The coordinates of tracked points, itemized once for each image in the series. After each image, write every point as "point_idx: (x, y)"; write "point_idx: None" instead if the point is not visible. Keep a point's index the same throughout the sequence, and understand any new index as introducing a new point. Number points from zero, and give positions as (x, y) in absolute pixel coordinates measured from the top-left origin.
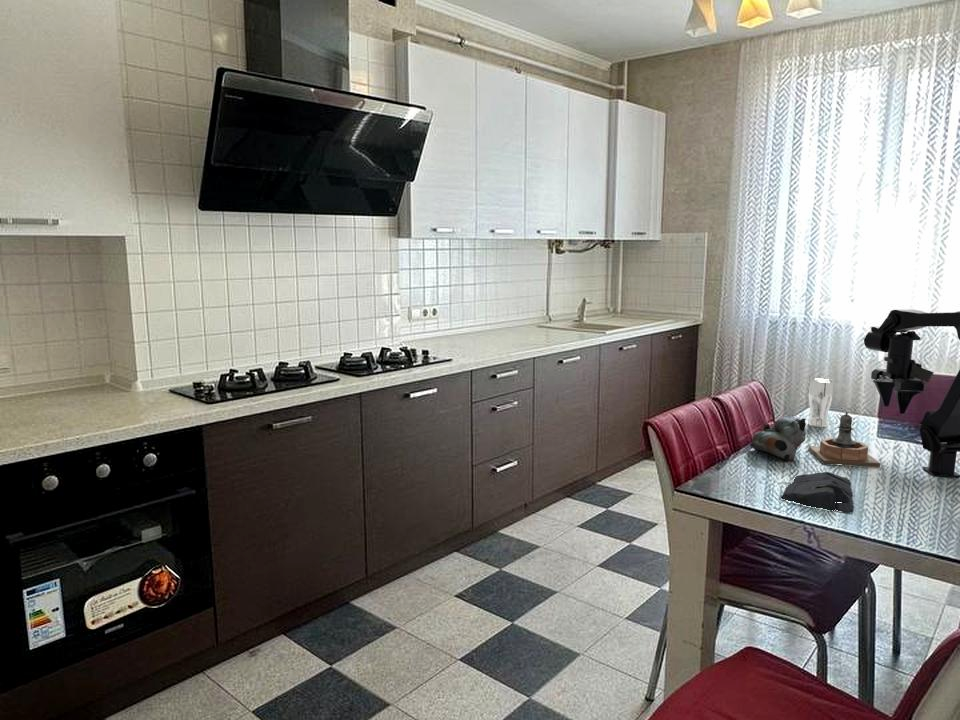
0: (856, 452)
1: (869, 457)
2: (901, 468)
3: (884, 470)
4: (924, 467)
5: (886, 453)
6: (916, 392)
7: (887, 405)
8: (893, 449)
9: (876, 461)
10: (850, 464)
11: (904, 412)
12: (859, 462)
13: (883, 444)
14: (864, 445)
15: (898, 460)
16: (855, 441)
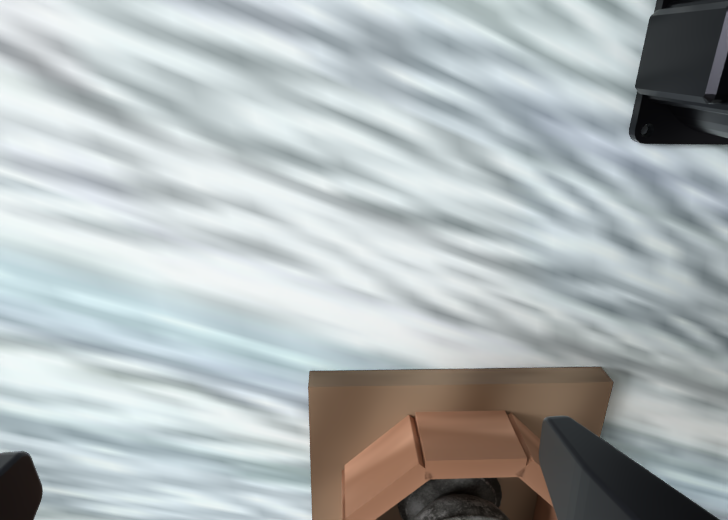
0: None
1: (502, 399)
2: (615, 261)
3: (648, 360)
4: (655, 137)
5: (287, 226)
6: None
7: (22, 473)
8: (155, 134)
9: (580, 389)
10: None
11: (579, 429)
12: None
13: (20, 154)
14: (494, 468)
15: (447, 213)
16: (401, 490)
